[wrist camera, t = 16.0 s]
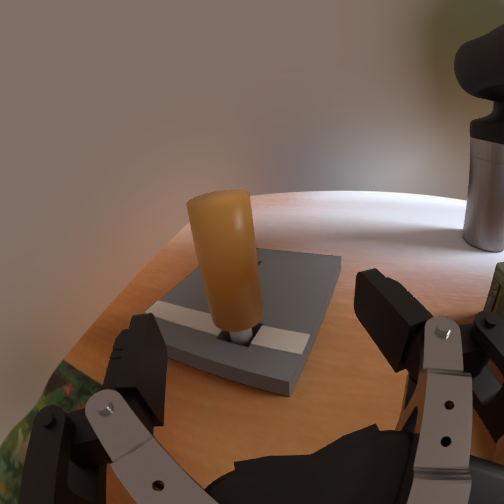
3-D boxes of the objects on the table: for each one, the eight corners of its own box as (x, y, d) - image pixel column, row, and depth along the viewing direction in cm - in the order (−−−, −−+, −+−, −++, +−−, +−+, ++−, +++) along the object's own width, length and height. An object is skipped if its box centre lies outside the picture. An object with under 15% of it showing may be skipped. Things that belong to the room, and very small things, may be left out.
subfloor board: (226, 257, 43) (224, 244, 42) (340, 270, 36) (341, 255, 35) (134, 342, 27) (127, 327, 26) (289, 396, 20) (288, 380, 19)
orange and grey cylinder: (234, 327, 28) (208, 190, 22) (274, 337, 26) (259, 189, 20) (211, 357, 25) (173, 208, 19) (255, 370, 23) (229, 209, 17)
